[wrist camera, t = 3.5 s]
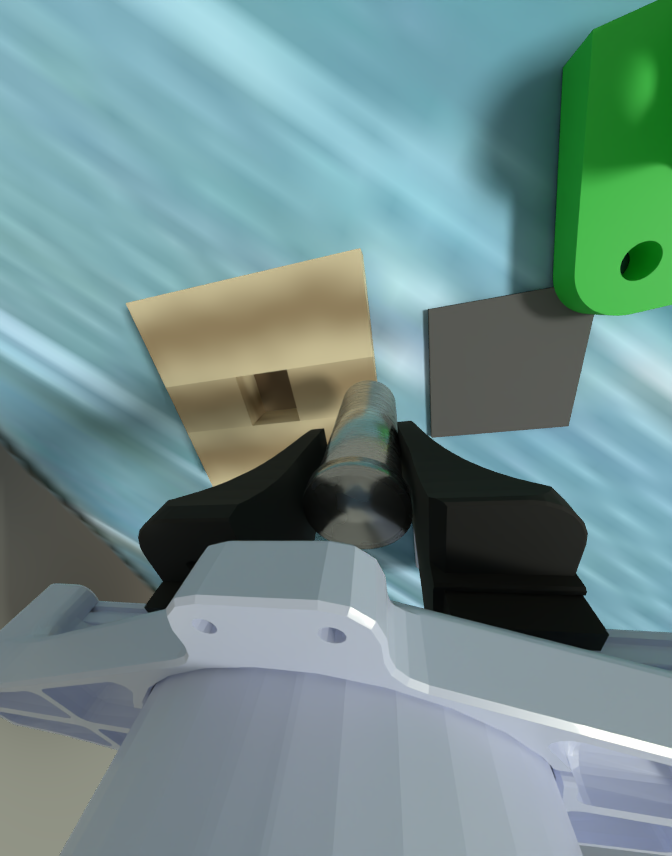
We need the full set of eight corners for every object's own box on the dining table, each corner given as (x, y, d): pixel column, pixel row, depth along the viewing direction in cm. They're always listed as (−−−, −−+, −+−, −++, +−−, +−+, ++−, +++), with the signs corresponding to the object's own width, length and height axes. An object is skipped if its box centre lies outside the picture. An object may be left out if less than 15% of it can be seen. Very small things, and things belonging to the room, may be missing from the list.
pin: (401, 429, 15) (415, 549, 9) (344, 433, 16) (315, 548, 9) (396, 372, 14) (409, 465, 7) (334, 381, 15) (290, 471, 8)
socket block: (385, 458, 24) (386, 479, 22) (229, 469, 27) (214, 488, 25) (362, 255, 17) (360, 248, 15) (158, 301, 20) (125, 303, 18)
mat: (565, 424, 20) (568, 426, 20) (431, 435, 22) (431, 437, 22) (598, 279, 16) (602, 278, 16) (428, 309, 18) (428, 309, 18)
